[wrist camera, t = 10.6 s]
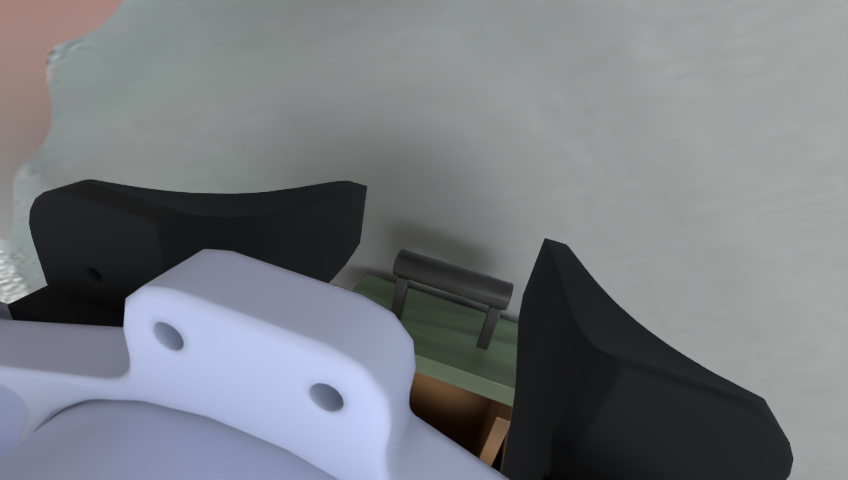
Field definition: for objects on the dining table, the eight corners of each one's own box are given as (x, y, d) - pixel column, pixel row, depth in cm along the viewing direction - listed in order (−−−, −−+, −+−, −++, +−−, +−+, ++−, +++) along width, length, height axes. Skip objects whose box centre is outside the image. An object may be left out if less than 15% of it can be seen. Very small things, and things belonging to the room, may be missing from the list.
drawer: (374, 214, 24) (332, 255, 19) (565, 272, 22) (568, 332, 18) (346, 411, 32) (312, 471, 28) (483, 464, 31) (470, 538, 26)
